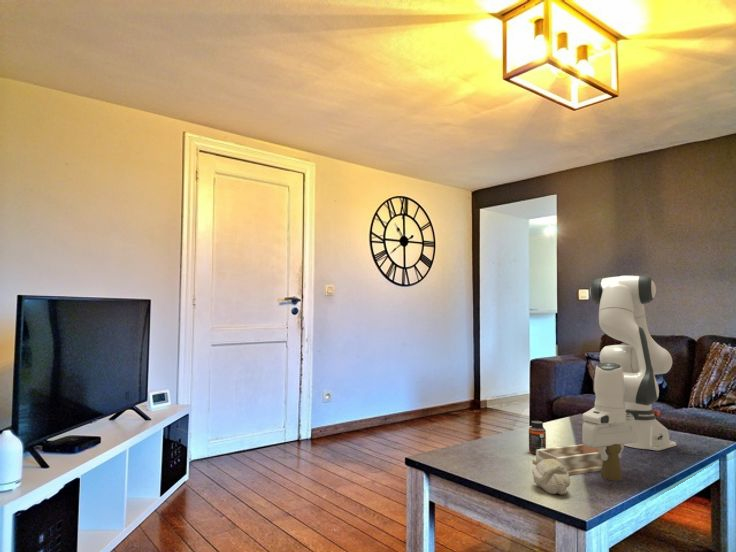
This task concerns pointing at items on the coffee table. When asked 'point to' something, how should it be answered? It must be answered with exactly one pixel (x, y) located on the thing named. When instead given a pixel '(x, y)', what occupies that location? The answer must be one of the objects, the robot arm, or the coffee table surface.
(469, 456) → the coffee table surface
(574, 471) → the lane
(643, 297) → the robot arm
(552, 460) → the fossil replica
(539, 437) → the supplement bottle
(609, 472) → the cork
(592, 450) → the block
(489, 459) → the coffee table surface
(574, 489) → the coffee table surface
